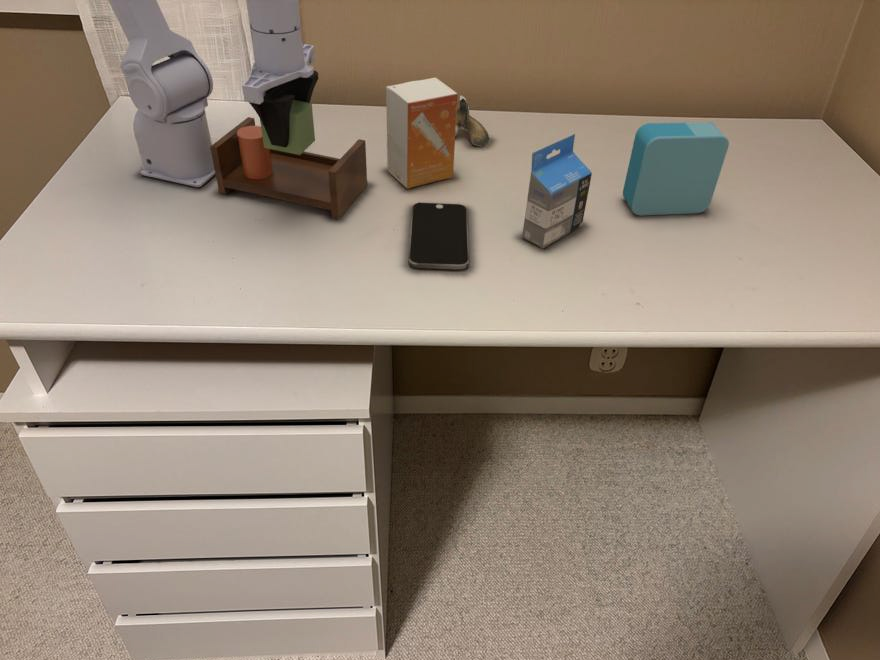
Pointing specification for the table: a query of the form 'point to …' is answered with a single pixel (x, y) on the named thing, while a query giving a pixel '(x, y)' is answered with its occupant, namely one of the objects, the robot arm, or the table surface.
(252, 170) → the terracotta cylinder
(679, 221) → the table surface
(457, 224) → the smartphone
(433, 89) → the small box
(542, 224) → the ink cartridge box
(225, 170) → the shelf
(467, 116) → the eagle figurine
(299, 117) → the green block
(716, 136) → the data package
